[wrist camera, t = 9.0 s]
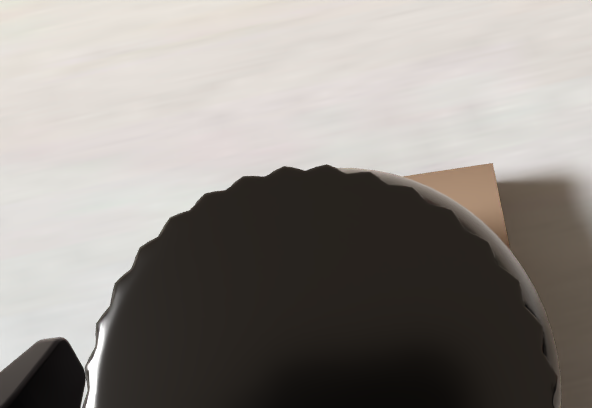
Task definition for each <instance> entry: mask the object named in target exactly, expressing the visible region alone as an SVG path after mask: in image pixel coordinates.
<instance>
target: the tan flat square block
mask: <svg viewBox="0 0 592 408" xmlns="http://www.w3.org/2000/svg"><path fill="white" fill-rule="evenodd" d="M404 177H405V178H408V179H411V180H414V181H416V182H419V183H421V184H424V185H426V186H429V187H431V188H433V189H435V190H437V191H439V192H441V193H442V194H444V195H446V196H448V197H450V198H451V199H453V200H454V201H456V202H458V203H459V204H461V205H462V206H464V207H465V208H467V209H468V210H469V211H470V212H472V213H473V214H474V215H475V216H477V217H478V218H479V219H481V220H482V221H483V222H484V223H485V224H486V225H487V226H488V227H489V228H490V229H491V230H492V231H493V232H494V233H496V234H497V235H498V237H499V238H500V239H501V240H502V241H503V242H504V244H505V245H506V246H507V247H508V248H509V249H510V246H509V241H508V236H507V231H506V226H505V222H504V217H503V212H502V207H501V202H500V197H499V192H498V188H497V183H496V178H495V173H494V168H493V163H491V164H484V165H477V166H471V167H464V168H457V169H451V170H444V171H437V172H430V173H424V174H417V175H410V176H404ZM191 209H192V208H191Z"/></svg>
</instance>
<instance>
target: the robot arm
mask: <svg viewBox="0 0 592 408" xmlns="http://www.w3.org/2000/svg"><path fill="white" fill-rule="evenodd" d="M84 387H85V372H84V369H83V366H82V365H81V363H80V361H79V359H78V358H77V356H76V354H75V352H74V351H73V349H72V347H71V345H70V344H69V342H68V341H67V340H66V339H65V338H61V337H57V338H49V339H43V340H40V341H38V342H36V343H35V344H34V345H33V346H31V347H30V348H29V349H28V350H27V351H25V352H24V353H23V354H22V355H21V356H19V357H18V358H17V359H16V360H14V361H13V362H12V363H11V364H10V365H8V366H7V367H6V368H5V369H4V370H2V371H1V372H0V408H80V407H81V402H82V397H83V392H84Z"/></svg>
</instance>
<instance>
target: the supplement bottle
mask: <svg viewBox="0 0 592 408" xmlns="http://www.w3.org/2000/svg"><path fill="white" fill-rule="evenodd" d="M95 335H96V347H95V348H94V350H93V352H92V354H91V356H90V357H89V360H88V362H87V364H86V366H85V375H86V381H87V386H88V392H87V395H86V398H85V401H84V404H83V407H82V408H561V375H560V367H559V360H558V353H557V349H556V344H555V340H554V336H553V332H552V329H551V326H550V323H549V320H548V317H547V314H546V311H545V309H544V306H543V304H542V302H541V300H540V298H539V295H538V293H537V291H536V289H535V287H534V285H533V284H532V282H531V280H530V278H529V277H528V275H527V273H526V272H525V270H524V268H523V267H522V266H521V264H520V263H519V261H518V260H517V259H516V257H515V256H514V254H513V253H512V252H511V250H510V249H509V248H508V247H507V246H506V245H505V244H504V242H503V241H502V240H501V239H500V238H499V237H498V235H497V234H496V233H494V232H493V231H492V230H491V229H490V228H489V227H488V226H487V225H486V224H485V223H484V222H483V221H482V220H481V219H479V218H478V217H477V216H475V215H474V214H473V213H472V212H470V211H469V210H468V209H467V208H465V207H464V206H462V205H461V204H459V203H458V202H456V201H454V200H453V199H451V198H450V197H448V196H446V195H444V194H442V193H441V192H439V191H437V190H435V189H433V188H431V187H429V186H426V185H424V184H421V183H419V182H416V181H414V180H411V179H408V178H405V177H401V176H398V175H394V174H390V173H385V172H380V171H375V170H367V169H357V168H335V167H332V166H330V165H323V166H318V167H315V168H312V169H309V170H306V171H304V170H300V169H297V168H292V167H286V166H284V167H281V168H279V169H277V170H275V171H273V172H272V173H271V174H269V175H267V176H265V177H259V176H243V177H242V178H240V179H239V180H237V181H236V182H235V183H234V184H233V185H232V186H231V187H230V188H228V189H227V190H224V191H215V192H210V193H206V194H204V195H203V196H202V197H201V198H200V199H199V200H198V201H197V203H196V204H195V206H194V207H193V208H192V209H191V210H189V211H186V212H183V213H180V214H177V215H175V216H173V217H170V218H169V220H168V221H167V223H166V224H165V226H164V227H163V229H162V231H161V232H160V234H159V236H158V237H157V238H155V239H153V240H151V241H149V242H147V243H146V244H145V245H143V246H142V247H140V248H139V251H138V253H137V255H136V257H135V261H134V264H133V266H132V268H131V269H130V270H129V271H128V272H127V273H125V274H124V275H123V276H122V277H121V278H120V279H119V280H118V281H117V282H116V283H115V285H114V289H113V293H112V298H111V304H110V306H109V308H108V309H107V310H106V311H105V312H104V314H103V315H102V316H101V318H100V319H99V320H98V322H97V323H96V334H95Z"/></svg>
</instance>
